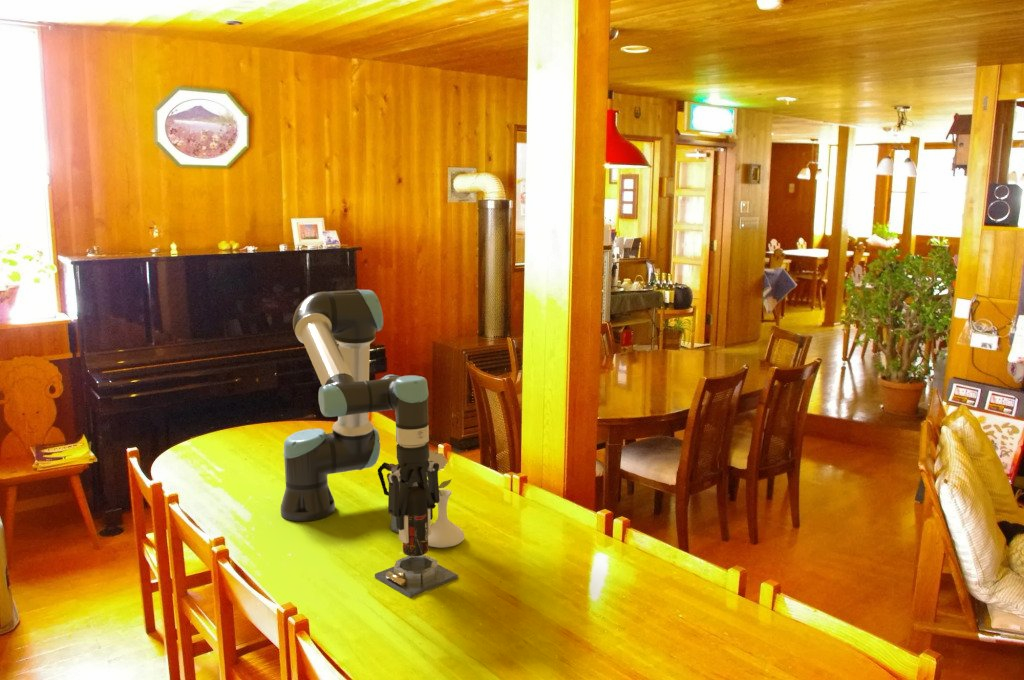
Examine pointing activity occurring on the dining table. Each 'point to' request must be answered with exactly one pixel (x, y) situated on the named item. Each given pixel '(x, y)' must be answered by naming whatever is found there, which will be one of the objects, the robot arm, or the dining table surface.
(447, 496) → the flower in vase
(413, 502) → the deodorant
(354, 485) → the dining table surface
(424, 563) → the socket mount
